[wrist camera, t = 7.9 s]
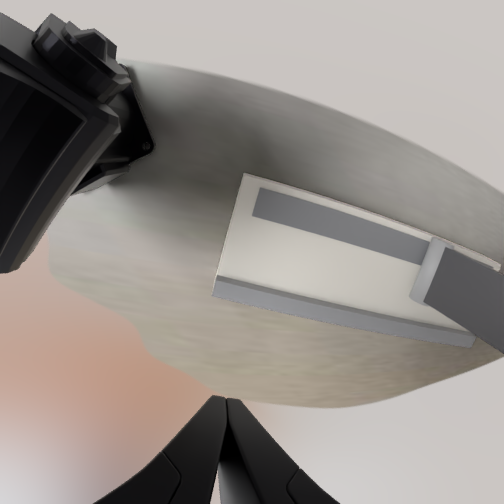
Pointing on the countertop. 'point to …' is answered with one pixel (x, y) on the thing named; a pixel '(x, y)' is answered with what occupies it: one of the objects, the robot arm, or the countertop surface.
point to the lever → (462, 291)
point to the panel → (330, 263)
